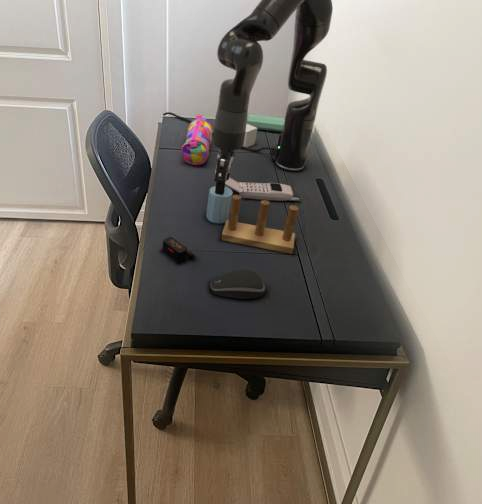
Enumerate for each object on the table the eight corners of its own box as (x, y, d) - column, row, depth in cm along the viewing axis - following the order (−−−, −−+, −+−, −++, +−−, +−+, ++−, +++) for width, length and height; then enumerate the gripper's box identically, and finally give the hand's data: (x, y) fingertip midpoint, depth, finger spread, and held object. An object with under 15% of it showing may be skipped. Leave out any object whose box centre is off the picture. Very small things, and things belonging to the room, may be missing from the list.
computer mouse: (208, 278, 111) (210, 264, 109) (262, 280, 113) (265, 266, 110) (211, 299, 106) (213, 284, 103) (267, 300, 107) (270, 286, 105)
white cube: (254, 144, 175) (257, 128, 171) (244, 148, 171) (247, 132, 167) (241, 138, 178) (244, 122, 174) (231, 142, 174) (233, 126, 170)
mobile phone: (214, 169, 143) (299, 175, 144) (212, 187, 146) (295, 193, 148) (215, 179, 138) (303, 185, 140) (213, 197, 141) (298, 203, 143)
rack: (221, 240, 124) (226, 202, 118) (225, 225, 130) (231, 188, 123) (292, 254, 122) (301, 216, 116) (293, 238, 128) (302, 202, 121)
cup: (208, 209, 135) (211, 183, 131) (230, 213, 135) (234, 188, 130) (204, 220, 131) (207, 194, 126) (226, 225, 130) (230, 198, 125)
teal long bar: (232, 110, 182) (299, 118, 181) (232, 111, 188) (297, 119, 187) (230, 127, 183) (297, 135, 182) (230, 127, 189) (295, 135, 188)
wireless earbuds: (180, 266, 114) (181, 254, 112) (161, 251, 118) (162, 240, 116) (195, 259, 117) (196, 247, 115) (176, 244, 120) (177, 233, 119)
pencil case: (184, 138, 173) (186, 113, 167) (211, 141, 173) (214, 116, 168) (179, 165, 155) (181, 138, 150) (209, 169, 155) (212, 142, 150)
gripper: (241, 139, 111) (232, 202, 121) (249, 118, 123) (240, 177, 132) (209, 134, 112) (202, 196, 121) (220, 113, 124) (212, 172, 133)
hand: (222, 186), depth 127 cm, fingers open, 8 cm apart
